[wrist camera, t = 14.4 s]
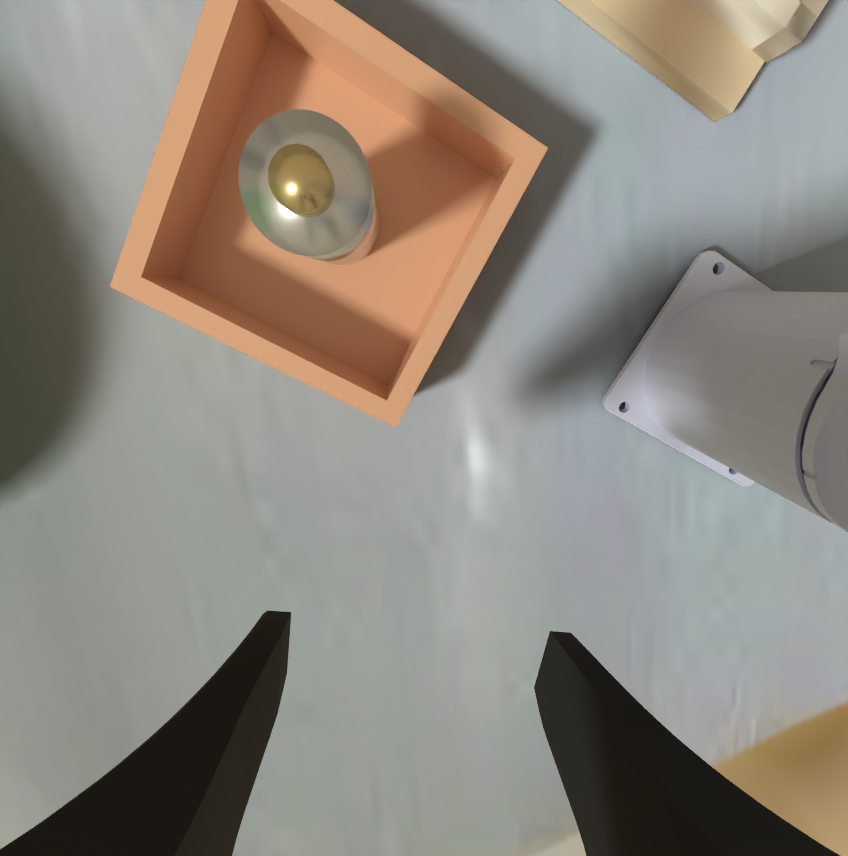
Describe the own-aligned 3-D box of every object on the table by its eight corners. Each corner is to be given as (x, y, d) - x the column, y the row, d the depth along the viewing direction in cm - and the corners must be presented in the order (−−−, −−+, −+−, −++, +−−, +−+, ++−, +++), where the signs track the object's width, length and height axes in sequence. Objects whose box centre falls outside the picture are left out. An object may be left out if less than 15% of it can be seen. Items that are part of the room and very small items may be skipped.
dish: (519, 173, 18) (548, 148, 15) (395, 404, 21) (395, 427, 17) (263, 3, 16) (230, -71, 13) (160, 286, 19) (109, 286, 15)
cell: (395, 211, 18) (397, 160, 10) (352, 281, 18) (324, 281, 11) (325, 158, 17) (271, 60, 9) (283, 232, 18) (201, 197, 10)
